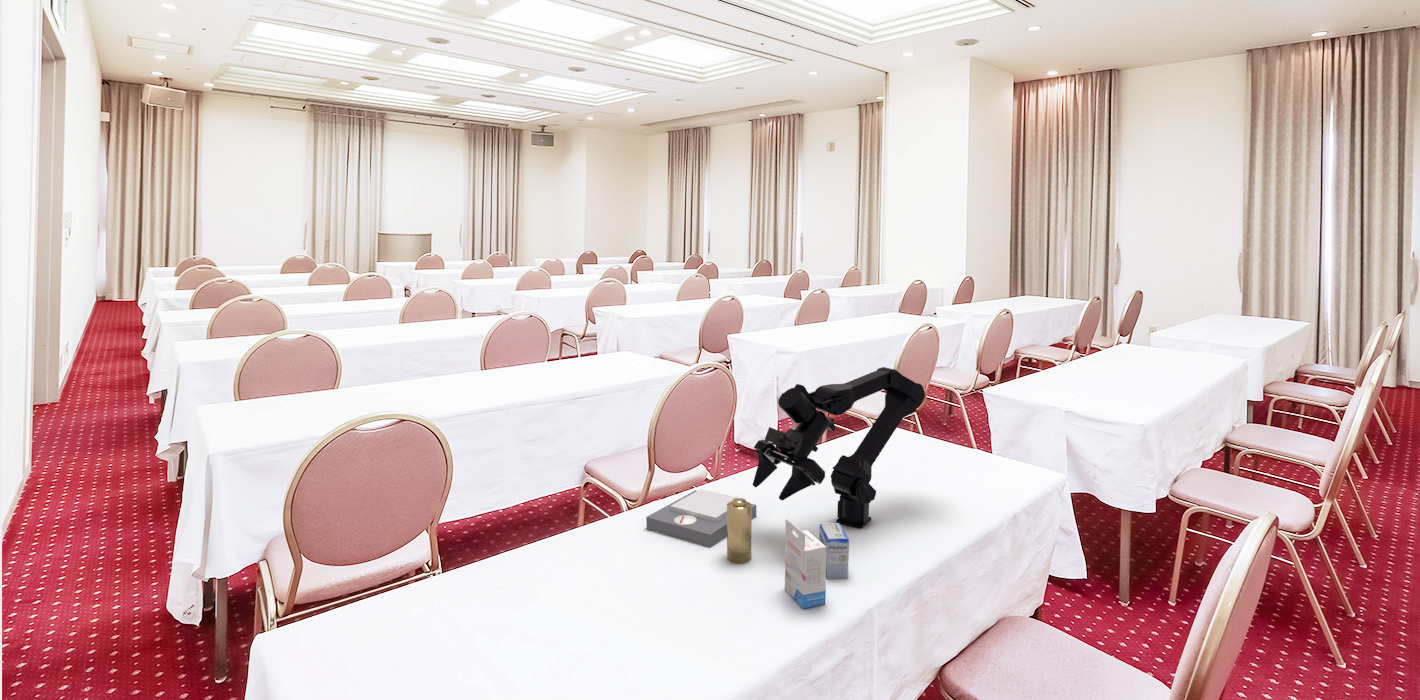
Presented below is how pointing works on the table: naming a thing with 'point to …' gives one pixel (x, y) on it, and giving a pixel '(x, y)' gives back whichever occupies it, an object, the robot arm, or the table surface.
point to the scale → (695, 517)
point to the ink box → (805, 567)
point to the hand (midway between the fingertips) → (766, 492)
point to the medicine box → (835, 550)
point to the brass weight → (739, 531)
